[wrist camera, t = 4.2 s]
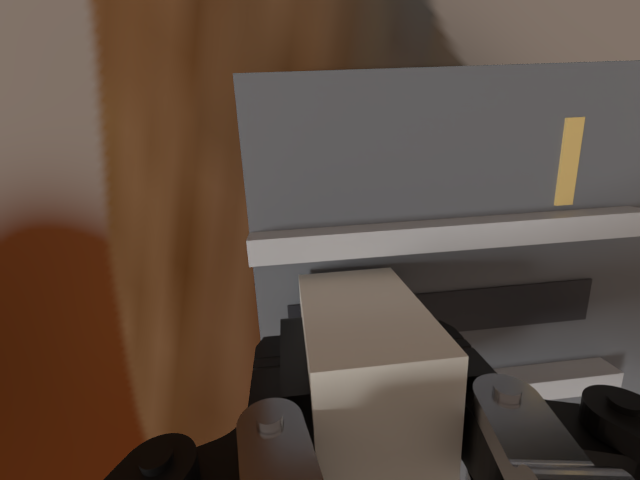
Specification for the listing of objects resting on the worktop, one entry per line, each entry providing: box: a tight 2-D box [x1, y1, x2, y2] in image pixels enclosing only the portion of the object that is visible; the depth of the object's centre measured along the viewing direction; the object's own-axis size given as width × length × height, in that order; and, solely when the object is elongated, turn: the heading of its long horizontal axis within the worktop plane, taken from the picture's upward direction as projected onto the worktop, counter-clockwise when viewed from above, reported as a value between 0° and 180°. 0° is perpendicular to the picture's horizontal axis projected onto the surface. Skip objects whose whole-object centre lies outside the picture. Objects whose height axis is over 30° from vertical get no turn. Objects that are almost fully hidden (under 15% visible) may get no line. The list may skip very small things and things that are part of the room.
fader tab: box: [298, 267, 469, 480], centre depth 9 cm, size 3×4×5 cm
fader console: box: [233, 60, 640, 480], centre depth 14 cm, size 16×18×3 cm
